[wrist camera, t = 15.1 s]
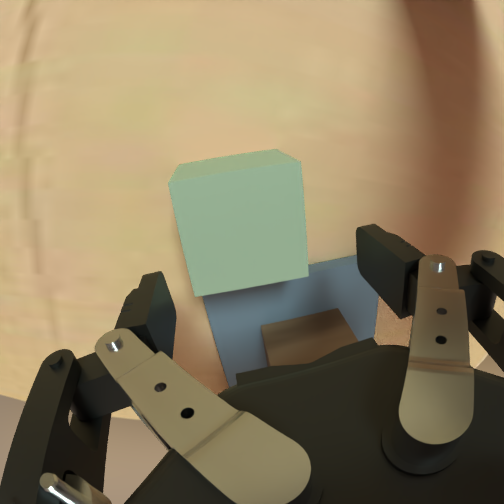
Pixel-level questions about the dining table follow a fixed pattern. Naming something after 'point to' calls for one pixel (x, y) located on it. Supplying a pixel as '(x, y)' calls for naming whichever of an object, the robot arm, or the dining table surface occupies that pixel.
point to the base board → (287, 310)
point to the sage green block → (241, 220)
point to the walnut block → (305, 338)
